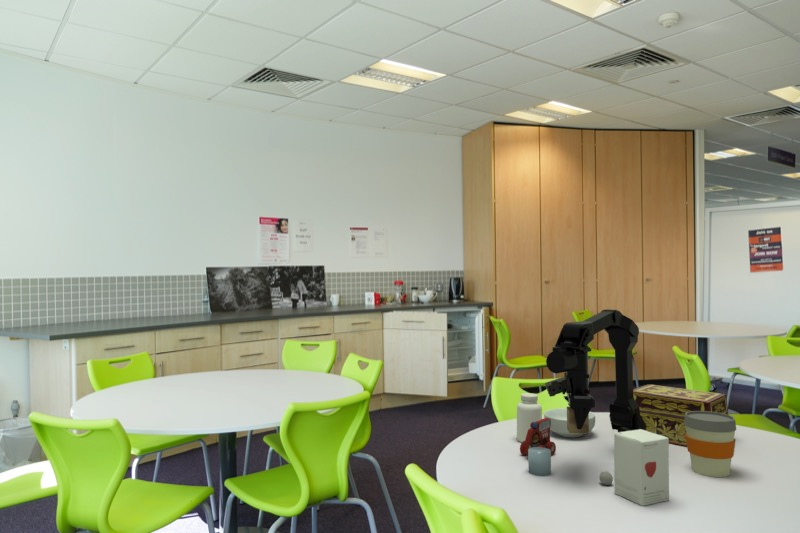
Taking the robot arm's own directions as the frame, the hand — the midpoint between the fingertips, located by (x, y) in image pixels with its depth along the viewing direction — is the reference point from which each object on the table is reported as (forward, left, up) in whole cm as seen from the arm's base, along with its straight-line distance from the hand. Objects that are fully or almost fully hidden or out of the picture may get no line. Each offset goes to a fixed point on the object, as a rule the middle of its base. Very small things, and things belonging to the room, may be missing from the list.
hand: (577, 426), depth 153 cm
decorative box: (-30, -45, -13) cm, 55 cm away
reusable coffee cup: (-34, -12, -13) cm, 38 cm away
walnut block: (0, 0, -1) cm, 1 cm away
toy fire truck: (+12, -12, -13) cm, 21 cm away
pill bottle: (+16, -26, -13) cm, 33 cm away
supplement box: (-15, +13, -13) cm, 24 cm away
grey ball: (-7, +7, -11) cm, 15 cm away
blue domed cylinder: (+10, +3, -12) cm, 16 cm away
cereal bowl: (+4, -38, -13) cm, 40 cm away
